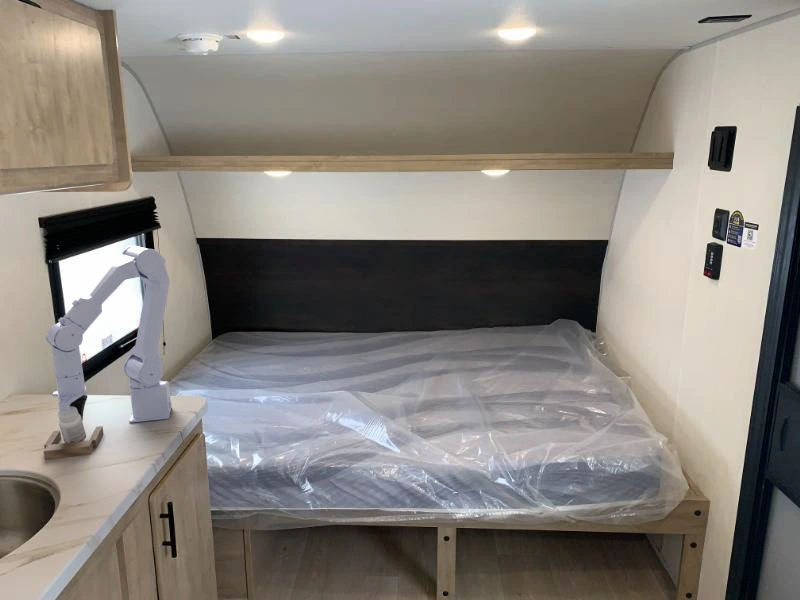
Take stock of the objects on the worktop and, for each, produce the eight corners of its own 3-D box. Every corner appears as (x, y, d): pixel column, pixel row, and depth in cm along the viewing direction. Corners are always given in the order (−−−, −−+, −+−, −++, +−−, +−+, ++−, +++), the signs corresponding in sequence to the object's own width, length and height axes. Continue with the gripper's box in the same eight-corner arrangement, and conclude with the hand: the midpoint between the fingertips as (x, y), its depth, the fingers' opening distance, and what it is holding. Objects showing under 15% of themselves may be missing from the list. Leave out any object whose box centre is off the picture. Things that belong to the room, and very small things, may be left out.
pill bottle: (90, 433, 147) (83, 406, 143) (78, 447, 143) (70, 420, 139) (72, 430, 148) (64, 403, 143) (59, 444, 144) (51, 417, 139)
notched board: (103, 433, 150) (102, 426, 149) (93, 453, 140) (92, 445, 139) (54, 438, 147) (53, 431, 147) (41, 459, 137) (40, 451, 137)
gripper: (59, 364, 149) (66, 415, 153) (40, 386, 136) (49, 442, 139) (90, 362, 151) (97, 413, 154) (75, 383, 137) (83, 438, 141)
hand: (76, 426), depth 147 cm, fingers closed, pressing on pill bottle
